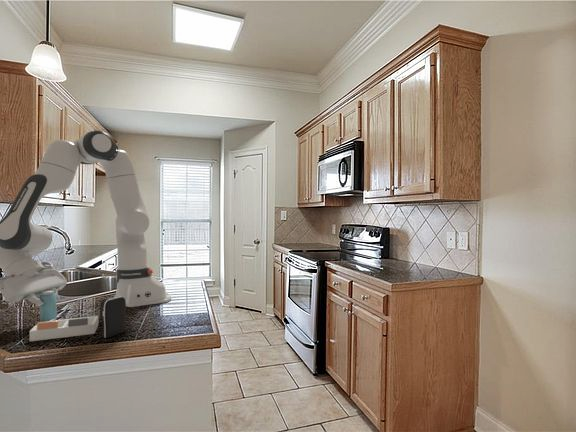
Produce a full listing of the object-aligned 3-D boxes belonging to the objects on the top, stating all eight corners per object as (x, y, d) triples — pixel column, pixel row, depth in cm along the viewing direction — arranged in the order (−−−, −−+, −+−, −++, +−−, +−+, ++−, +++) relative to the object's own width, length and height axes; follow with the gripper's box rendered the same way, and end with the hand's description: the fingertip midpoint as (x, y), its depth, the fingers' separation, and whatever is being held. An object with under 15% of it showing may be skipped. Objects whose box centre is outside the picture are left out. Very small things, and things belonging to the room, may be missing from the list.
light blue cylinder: (58, 315, 115) (57, 289, 115) (54, 319, 111) (54, 292, 111) (42, 317, 114) (42, 290, 114) (38, 321, 110) (38, 293, 109)
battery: (118, 330, 108) (117, 294, 108) (126, 331, 106) (126, 295, 106) (97, 337, 101) (97, 299, 101) (106, 339, 100) (106, 300, 100)
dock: (98, 324, 113) (98, 309, 113) (94, 333, 104) (94, 317, 104) (38, 331, 106) (38, 315, 106) (29, 341, 98) (29, 324, 98)
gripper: (-2, 272, 103) (25, 305, 102) (55, 261, 123) (79, 289, 122) (-14, 286, 104) (13, 319, 102) (45, 273, 124) (69, 301, 123)
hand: (50, 302), depth 112 cm, fingers closed on light blue cylinder, 4 cm apart
